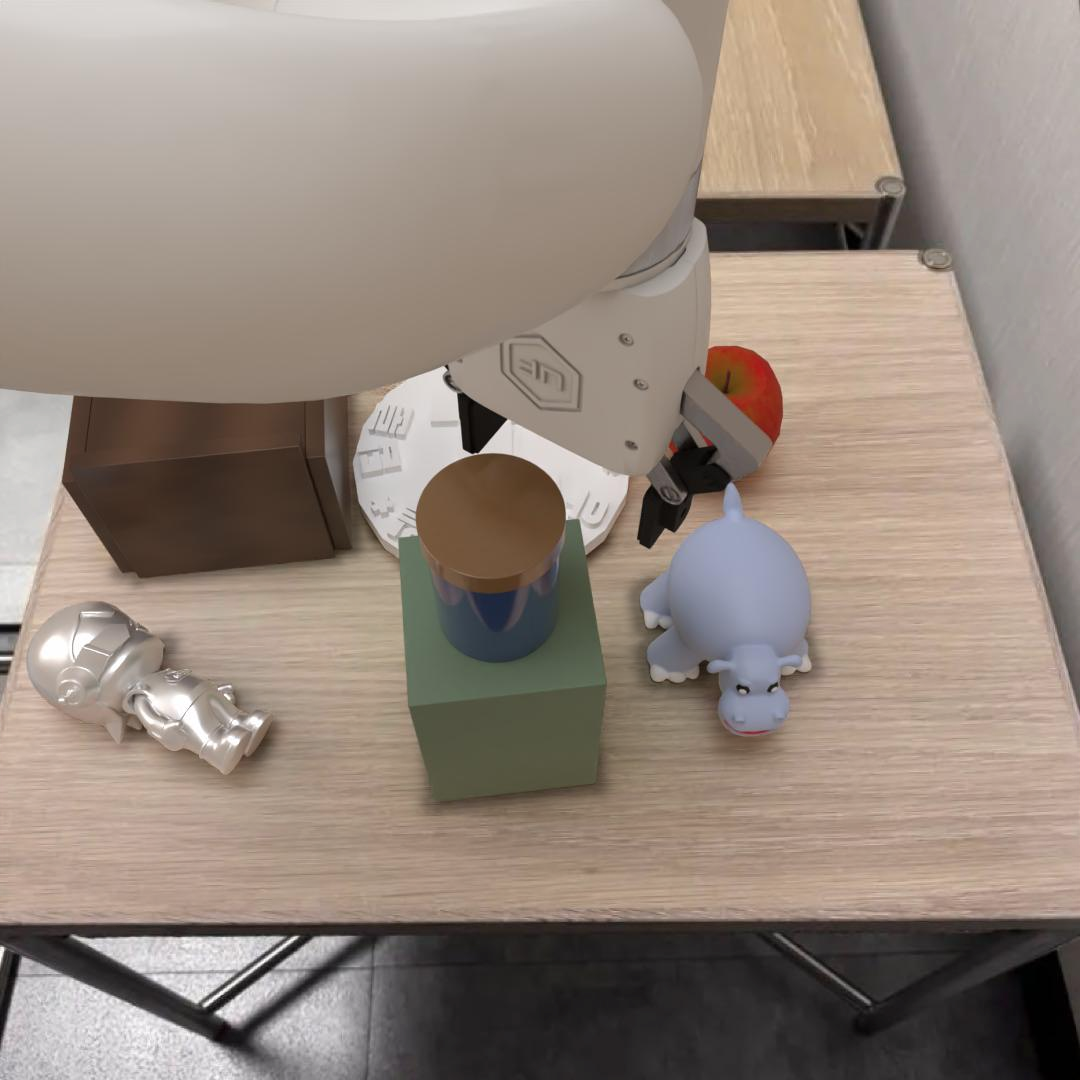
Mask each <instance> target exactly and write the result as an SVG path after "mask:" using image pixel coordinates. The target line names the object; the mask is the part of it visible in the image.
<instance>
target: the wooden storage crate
mask: <svg viewBox="0 0 1080 1080" xmlns="http://www.w3.org/2000/svg"><path fill="white" fill-rule="evenodd" d="M348 410H349V409H348V395H346V396H340V397H334V398H328V399H322V400H314V401H299V402H284V403H268V404H255V403H203V402H183V401H162V400H142V399H125V398H109V397H87V396H73V398H72V406H71V412H70V420H69V427H68V434H67V440H66V441H67V442H66V448H65V455H64V462H63V468H62V476H61V484H62V485H63V487H64V489H65V490H66V491H67V493H68V494H69V497H70V498H71V499H72V501H73V502H74V503H75V505H76V506H77V508H78V510H79V511H80V513H81V514H82V515H83V517H84V518H85V520H86V522H87V523H88V524H89V526H90V527H91V529H92V530H93V532H94V533H95V534H96V536H97V538H98V539H99V541H100V542H101V543H102V546H103V547H104V549H106V551H107V552H108V554H109V556H110V557H111V558H112V560H113V561H114V563H115V565H116V566H117V567H118V569H119V570H120V572H121V573H132V572H133V573H135V575H136V576H137V579H145V578H155V577H165V576H171V575H172V576H174V575H181V574H183V575H184V574H193V573H202V572H203V573H204V572H211V571H223V570H231V569H240V568H250V567H258V566H259V567H260V566H268V565H269V566H270V565H277V564H278V565H279V564H287V563H297V562H307V561H317V560H326V559H334V558H336V551H342V550H352V549H353V530H352V502H351V501H352V500H351V498H352V497H351V470H350V468H351V467H350V442H349V440H350V439H349V437H350V436H349V415H348V413H349V412H348Z"/></svg>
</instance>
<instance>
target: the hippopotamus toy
mask: <svg viewBox="0 0 1080 1080" xmlns="http://www.w3.org/2000/svg"><path fill="white" fill-rule="evenodd" d="M722 511H723V516H722V517H720V518H715V519H713V520H710V521H708V522H705V523H703V524H702V525H700V526H699V527H697V528H695V529H694V530H693V531H691V532H690V533H689V534H688V535H687V536H686V537H685V539H683V541H682V542H680V544H679V546H678V547H677V548H676V550H675V552H674V554H673V556H672V558H671V560H670V563H669V566H668V568H667V569H665V570H664V572H663V573H661V574H660V575H659V576H658V577H657V578H655V579H654V580H653V581H651V582H650V584H647V586H646V587H645V588H643V590H642V592H641V593H640V596H639V605H640V608H641V610H642V612H643V619H644V624H645V627H646V628H647V629H651V630H653V629H656V628H657V627H658V626H660V627H661V628H663V629H665V631H664V632H662V633H661V634H660V635H659V636H657V637H656V638H655V639H654V640H652V641H651V642H650V644H649V645H648V647H647V650H646V660H647V663H648V664H649V666H650V670H649V675H650V678H651V679H652V681H653V682H655V683H661V682H664V681H666V680H668V681H670V682H672V683H677V684H678V683H680V684H681V683H684V681H686V679H687V678H688V679H690V680H695V679H697V678H698V677H699V675H700V666H699V665H700V664H701V663H702V662H703V661H707V662H709V663H708V664H707V666H706V671H707V672H708V673H710V674H716V673H718V686H719V689H720V692H721V695H720V698H719V700H718V703H717V710H716V711H717V716H718V718H719V720H720V722H721V724H722V725H723V726H724V727H725V729H726V730H727V731H729V732H730V733H731V734H733V735H737V736H741V737H759V736H765V735H768V734H769V735H770V734H771V733H774V732H776V731H777V730H779V728H781V727H782V726H783V725H784V724H785V722H786V721H787V719H788V716H789V714H790V711H791V701H790V698H789V696H788V694H787V693H786V691H785V690H784V689H783V688H782V687H781V685H780V684H781V677H782V676H789V675H793V674H794V673H795V672H796V671H798V672H801V673H807V672H810V671H811V670H812V662H811V660H810V658H809V651H810V650H809V644H808V641H807V640H806V638H805V635H806V633H807V630H808V627H809V624H810V621H811V614H812V593H811V586H810V583H809V579H808V575H807V572H806V570H805V567H804V564H803V563H802V561H801V559H800V556H799V555H798V554H797V552H796V551H795V549H794V548H793V547H792V546H791V544H790V543H789V542H788V541H787V540H786V539H785V538H784V537H783V536H782V535H781V534H780V533H778V532H777V531H776V530H775V529H773V528H771V526H769V525H768V524H765V523H764V522H761V521H759V520H757V519H754V518H751V517H748V516H745V512H744V507H743V503H742V499H741V496H740V493H739V490H738V489H737V486H736V485H735V484H734V482H731V483H730V484H728V485H727V487H726V488H725V492H724V496H723V500H722Z"/></svg>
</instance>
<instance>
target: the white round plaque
mask: <svg viewBox="0 0 1080 1080" xmlns="http://www.w3.org/2000/svg"><path fill="white" fill-rule="evenodd" d="M446 371H447V369H446V368H445V367H444V366H443V367H440V368H437V369H435V370H432V371H430V372H427V373H424V374H421V375H418V376H415V377H412V378H409V379H407V380H404V381H402V383H400V384H398V385H397V386H396V387H394V388H393V389H391V390H389V391H388V392H387V394H385V396H384V397H383V399H382V400H381V401H380V402H376V405H375V409H374V410H373V411H372V413H371V414H370V416H369V417H368V418H367V419H366V421H365V422H364V423H363V425H362V428H361V432H360V436H359V439H358V443H357V444H356V450H355V454H354V457H353V461H352V467H353V468H352V469H353V473H354V480H355V485H356V486H355V487H356V495H357V500H358V504H359V508H360V509H359V510H360V512H361V515H362V516H363V518H364V520H365V521H366V523H367V524H368V525H369V527H370V529H371V530H372V532H373V533H374V534H375V536H376V537H377V539H378V541H379V543H380V544H381V545H382V547H383V548H384V550H386V551H387V552H389V553H390V554H391V555H393V556H394V557H396V558H397V559H399V547H398V538H400V537H410V536H418V533H417V527H416V509H417V504H418V501H419V498H420V496H421V494H422V492H423V490H424V488H425V487H426V485H427V484H428V482H429V481H430V480H431V479H432V478H433V477H434V476H435V475H436V474H437V473H438V472H439V471H441V470H442V469H443V468H445V467H446V466H448V465H450V464H451V463H453V462H455V461H457V460H460V459H463V458H465V457H469V456H473V455H478V454H485V453H500V454H508V455H513V456H516V457H520V458H523V459H525V460H528V461H530V462H532V463H533V464H535V465H537V466H538V467H540V468H541V469H543V470H544V471H545V472H546V473H547V474H548V475H549V476H550V477H551V478H552V479H553V480H554V482H555V483H556V484H557V486H558V488H559V489H560V491H561V494H562V496H563V499H564V503H565V508H566V520H572V519H579V520H580V525H581V531H582V537H583V543H584V549H585V554H586V556H587V555H588V554H590V553H591V552H592V551H593V550H595V549H596V548H597V547H598V546H600V545H601V544H602V543H603V542H605V540H606V539H607V537H608V535H609V533H610V532H611V530H612V528H613V526H614V525H615V523H616V522H617V519H618V518H619V517H620V514H621V513H622V511H623V510H624V508H625V506H626V503H627V497H628V496H627V495H628V488H629V487H628V486H629V477H630V476H628V475H623V474H619V473H615V472H613V471H610V470H607V469H605V468H603V467H601V466H599V465H597V464H594V463H592V462H590V461H588V460H586V459H584V458H582V457H580V456H578V455H576V454H574V453H572V452H570V451H568V450H566V449H564V448H562V447H560V446H559V445H557V444H555V443H553V442H551V441H549V440H547V439H545V438H543V437H541V436H539V435H537V434H535V433H533V432H531V431H529V430H528V429H526V428H524V427H522V426H520V425H518V424H516V423H514V422H512V421H511V420H509V419H507V421H506V422H505V423H504V424H503V425H502V427H501V428H500V429H499V430H498V431H497V432H496V434H495V435H494V436H493V437H492V438H491V439H490V441H489V442H488V443H487V444H486V445H485V446H484V448H483V449H482V450H481V451H480V452H479V453H478V454H476V453H475V454H470V453H469V452H467V451H465V450H463V447H462V436H461V424H460V419H459V410H458V399H457V393H456V392H453V391H452V390H451V389H449V388H448V387H447V385H446V384H445V383H444V381H443V374H444V373H445V372H446Z"/></svg>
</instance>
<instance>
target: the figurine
mask: <svg viewBox="0 0 1080 1080" xmlns="http://www.w3.org/2000/svg"><path fill="white" fill-rule="evenodd" d="M165 647H166V644H165V643H164V642H163V641H162V640H161V638H160V637H159V636H157V635H155V634H153V633H151V632H149V629H148V628H147V627H145V626H143V625H142V624H140V622H135V620H134V619H133V618H132V617H130V616H129V615H128V614H127V613H125V612H124V611H122V609H120V608H119V607H117V606H116V605H113V604H111V603H109V602H106V601H103V600H93V601H92V600H89V601H82V602H78V603H73V604H71V605H69V606H66V607H64V608H61V609H60V610H58V611H57V612H55V613H54V614H52V615H51V616H50V617H49V618H47V620H45V621H44V623H42V624H41V626H40V627H39V628H38V630H36V632H35V633H34V635H33V636H32V639H31V640H30V642H29V645H28V649H27V653H26V671H27V674H28V678H29V680H30V683H31V685H32V686H33V688H34V689H35V691H36V692H37V693H38V694H39V695H40V696H41V697H42V698H43V699H44V700H45V701H46V702H47V703H48V704H50V705H51V706H53V707H54V708H55V709H57V710H58V711H60V712H61V713H63V714H65V715H67V716H69V717H71V718H73V719H76V720H79V721H82V722H85V723H89V724H93V725H99V726H103V727H104V728H105V729H106V731H107V732H108V734H109V735H110V736H111V738H112V739H113V741H114V742H115V743H116V744H117V745H120V744H121V743H122V741H123V739H124V734H125V731H126V727H127V726H128V727H130V728H132V729H134V730H137V731H141V730H142V729H143V727H144V728H145V730H146V731H147V734H148V735H149V736H150V737H152V738H153V739H155V740H156V741H157V742H159V743H160V744H161V745H162V746H163V747H165V748H166V749H168V750H169V751H171V752H177V751H179V750H182V749H185V750H188V751H191V752H193V753H195V754H197V755H198V758H199V759H200V760H204V761H206V762H207V763H208V764H209V765H211V766H212V767H214V768H215V769H217V770H218V771H219V772H220V773H221V774H222V775H224V776H228V775H229V774H231V773H232V772H233V770H234V769H235V768H236V767H237V766H238V764H239V762H240V760H241V759H242V757H243V755H244V756H246V757H247V758H248V757H250V756H251V755H252V754H254V753H255V751H256V750H257V749H258V747H259V746H260V744H261V743H262V741H263V739H264V737H265V735H266V734H267V732H268V730H269V728H270V726H271V724H272V721H273V720H274V713H273V712H271V711H270V710H266V709H264V708H261V707H257V708H255V709H254V710H252V712H251V713H247V712H245V711H244V710H243V709H239V708H238V707H236V697H235V695H234V693H233V692H234V691H235V689H236V685H234V683H232V682H229V683H227V682H226V683H223V684H220V685H219V684H217V683H215V682H214V681H212V680H211V679H210V678H204V677H203V676H200V675H197V674H194V673H193V672H192V670H191V669H189V668H182V669H179V670H175V668H173V667H168V668H165V669H164V670H160V669H161V666H162V663H163V657H164V650H165ZM185 671H188V672H185Z"/></svg>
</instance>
